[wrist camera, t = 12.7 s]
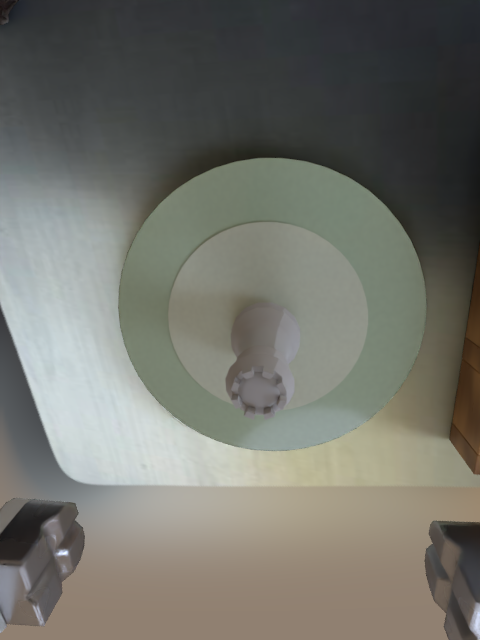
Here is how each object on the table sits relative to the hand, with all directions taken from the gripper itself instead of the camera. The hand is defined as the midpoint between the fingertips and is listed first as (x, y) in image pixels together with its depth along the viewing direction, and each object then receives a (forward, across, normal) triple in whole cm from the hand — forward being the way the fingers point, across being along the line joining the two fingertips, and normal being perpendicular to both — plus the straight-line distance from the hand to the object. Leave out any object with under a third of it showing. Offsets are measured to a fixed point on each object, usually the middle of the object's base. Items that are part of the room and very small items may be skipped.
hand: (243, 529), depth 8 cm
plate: (+17, 0, +1) cm, 17 cm away
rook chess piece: (+16, 0, +1) cm, 16 cm away
